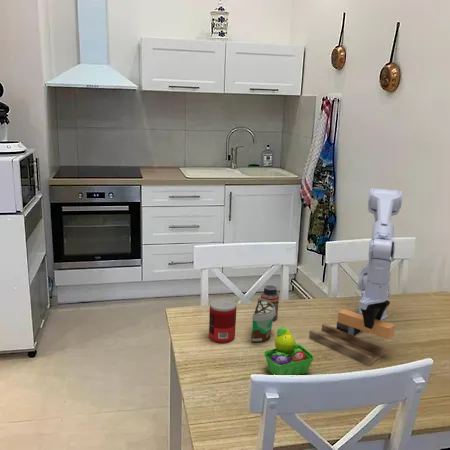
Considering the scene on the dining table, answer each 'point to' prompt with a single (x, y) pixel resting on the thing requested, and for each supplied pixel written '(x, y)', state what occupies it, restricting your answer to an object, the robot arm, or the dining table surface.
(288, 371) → the fruit basket
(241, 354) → the dining table surface
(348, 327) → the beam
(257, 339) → the food container
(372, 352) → the tray
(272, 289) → the supplement bottle
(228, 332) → the canned food
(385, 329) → the shaft
